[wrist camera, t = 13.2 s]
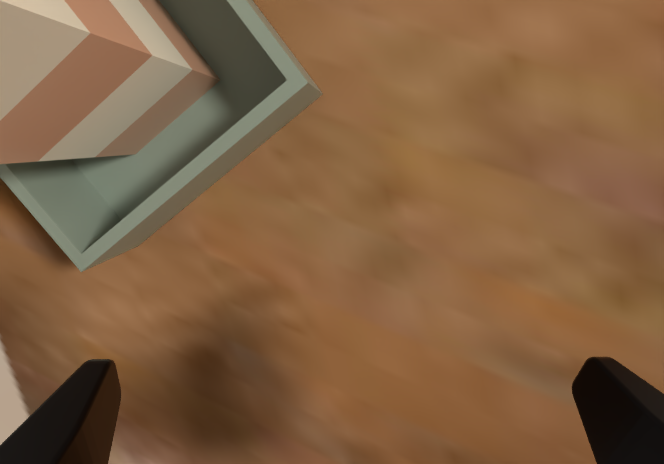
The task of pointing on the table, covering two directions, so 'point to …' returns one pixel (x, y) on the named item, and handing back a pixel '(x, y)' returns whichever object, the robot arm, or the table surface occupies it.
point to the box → (173, 139)
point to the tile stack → (92, 77)
